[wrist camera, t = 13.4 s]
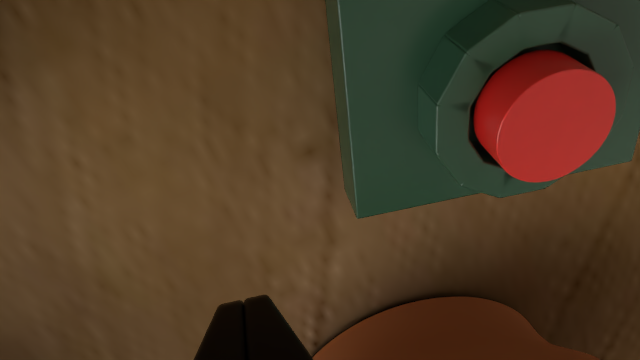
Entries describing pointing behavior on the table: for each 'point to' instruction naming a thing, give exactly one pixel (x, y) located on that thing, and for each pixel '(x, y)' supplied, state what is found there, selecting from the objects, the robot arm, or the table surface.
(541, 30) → the button box
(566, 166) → the button
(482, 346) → the potted plant
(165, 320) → the table surface
